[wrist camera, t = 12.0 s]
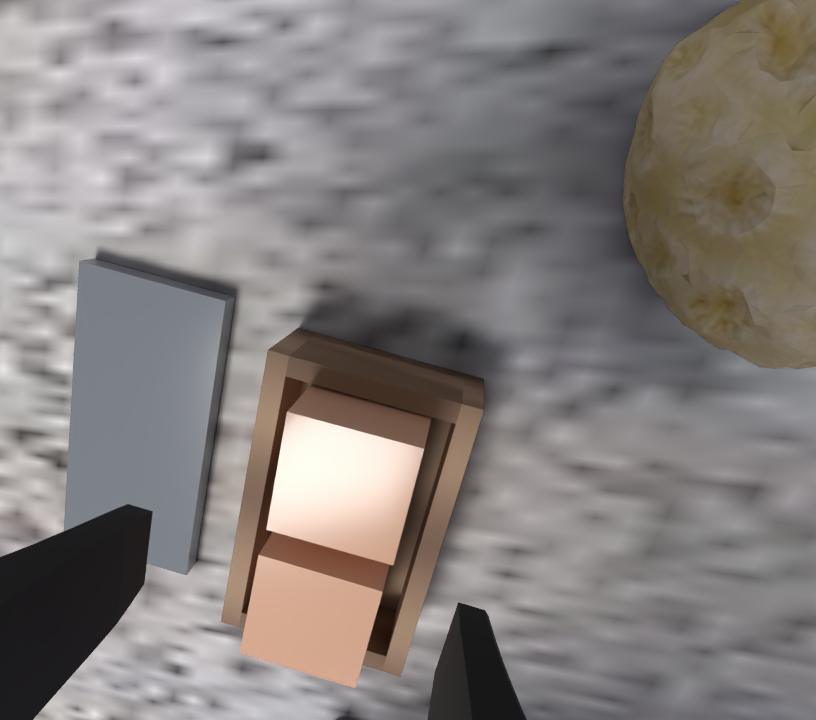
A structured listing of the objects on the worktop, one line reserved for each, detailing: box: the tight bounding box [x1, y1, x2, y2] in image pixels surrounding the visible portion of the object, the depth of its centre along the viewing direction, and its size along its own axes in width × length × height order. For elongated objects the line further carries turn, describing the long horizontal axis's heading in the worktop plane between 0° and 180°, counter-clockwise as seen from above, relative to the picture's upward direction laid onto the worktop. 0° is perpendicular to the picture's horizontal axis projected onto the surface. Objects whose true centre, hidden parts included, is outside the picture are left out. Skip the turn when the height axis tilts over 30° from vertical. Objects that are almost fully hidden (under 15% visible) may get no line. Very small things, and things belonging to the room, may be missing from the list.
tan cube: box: [266, 384, 432, 565], centre depth 18 cm, size 4×4×4 cm
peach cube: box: [240, 532, 389, 688], centre depth 20 cm, size 4×4×4 cm
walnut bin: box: [221, 328, 484, 677], centre depth 20 cm, size 11×7×3 cm, turn 166°
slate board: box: [64, 259, 235, 575], centre depth 22 cm, size 12×6×1 cm, turn 166°
